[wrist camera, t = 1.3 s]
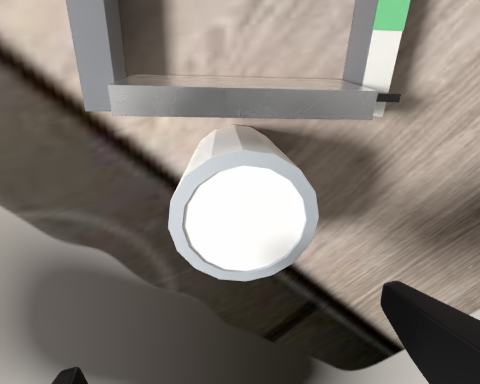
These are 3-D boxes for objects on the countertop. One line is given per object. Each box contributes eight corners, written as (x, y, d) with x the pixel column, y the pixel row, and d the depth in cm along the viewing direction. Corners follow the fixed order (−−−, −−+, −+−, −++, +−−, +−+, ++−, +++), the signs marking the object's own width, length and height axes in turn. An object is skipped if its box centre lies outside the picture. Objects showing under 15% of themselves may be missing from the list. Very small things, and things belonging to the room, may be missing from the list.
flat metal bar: (382, 80, 17) (432, 92, 13) (377, 103, 18) (424, 120, 14) (133, 74, 16) (107, 84, 12) (136, 98, 17) (112, 115, 13)
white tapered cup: (305, 136, 20) (347, 180, 14) (263, 224, 22) (282, 296, 16) (201, 97, 18) (194, 127, 12) (169, 197, 21) (150, 264, 15)
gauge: (403, -93, 15) (482, -149, 11) (363, 107, 19) (409, 127, 15) (67, -118, 14) (-2, -193, 9) (101, 102, 18) (64, 122, 14)
